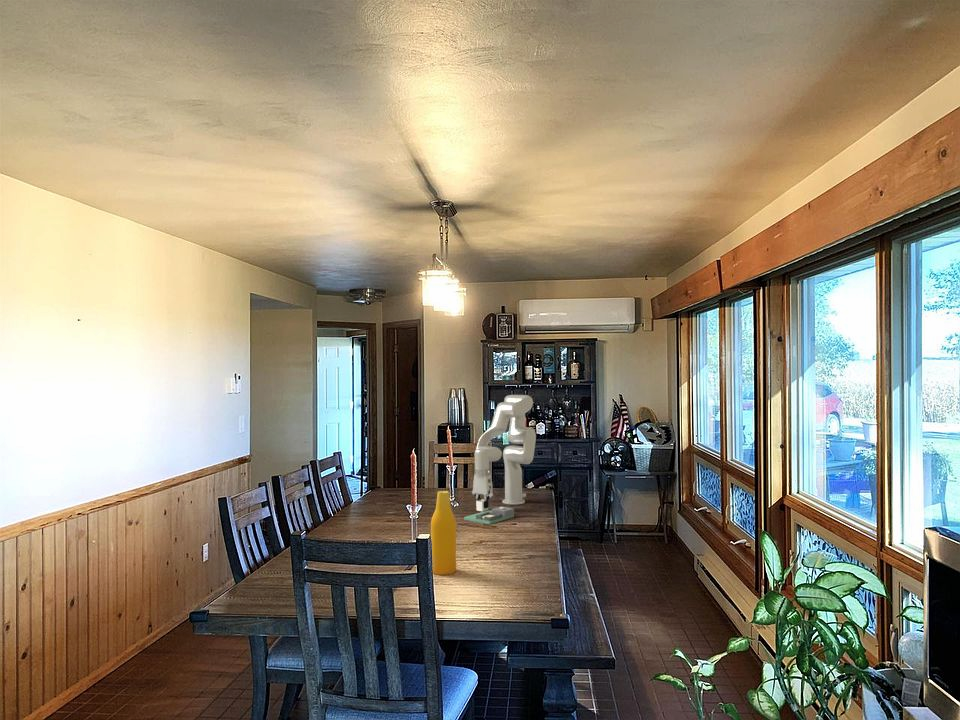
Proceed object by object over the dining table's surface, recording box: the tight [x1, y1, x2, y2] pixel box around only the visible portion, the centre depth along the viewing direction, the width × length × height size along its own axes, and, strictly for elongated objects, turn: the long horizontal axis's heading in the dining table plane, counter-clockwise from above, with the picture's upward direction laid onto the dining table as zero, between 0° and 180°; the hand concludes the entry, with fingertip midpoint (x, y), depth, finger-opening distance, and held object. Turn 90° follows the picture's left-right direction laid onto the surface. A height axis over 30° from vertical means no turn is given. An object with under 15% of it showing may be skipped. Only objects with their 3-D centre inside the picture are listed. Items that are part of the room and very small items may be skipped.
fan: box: [491, 506, 515, 517], centre depth 321 cm, size 8×8×4 cm
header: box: [476, 512, 502, 521], centre depth 314 cm, size 10×9×2 cm
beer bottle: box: [430, 490, 457, 576], centre depth 234 cm, size 9×9×29 cm
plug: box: [475, 498, 489, 512], centre depth 334 cm, size 5×4×5 cm
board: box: [463, 509, 515, 525], centre depth 319 cm, size 20×16×1 cm
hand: (482, 507), depth 334 cm, fingers closed on plug, 3 cm apart
